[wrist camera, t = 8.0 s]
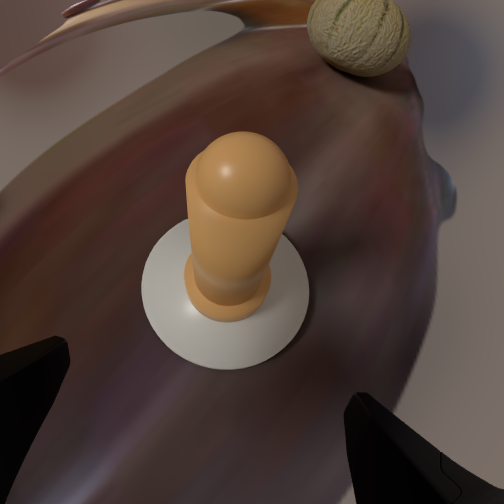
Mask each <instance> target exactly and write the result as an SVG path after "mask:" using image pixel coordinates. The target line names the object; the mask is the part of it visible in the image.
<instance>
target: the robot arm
mask: <svg viewBox="0 0 504 504" xmlns="http://www.w3.org/2000/svg"><path fill="white" fill-rule="evenodd" d="M69 366H70V355H69V348H68V343H67V340H66V339H64V338H61V337H58V336H53V337H50V338H47V339H44V340H41V341H39V342H36V343H33V344H30V345H27V346H24V347H22V348H19V349H16V350H13V351H10V352H7V353H4V354H2V355H0V504H5V502H6V500H7V498H6V497H8V494H9V492H10V490H11V487H12V485H13V483H14V480H15V478H16V476H17V474H18V472H19V469H20V467H21V465H22V463H23V461H24V459H25V457H26V455H27V453H28V451H29V448H30V446H31V444H32V442H33V441H34V439H35V437H36V435H37V433H38V431H39V429H40V427H41V425H42V423H43V421H44V420H45V418H46V416H47V414H48V412H49V410H50V409H51V407H52V405H53V403H54V401H55V398H56V396H57V394H58V391H59V389H60V387H61V384H62V382H63V380H64V377H65V375H66V373H67V371H68V368H69ZM344 425H345V437H346V449H347V457H348V463H349V468H350V473H351V478H352V483H353V488H354V494H355V498H356V504H504V489H500V488H497V487H495V486H493V485H491V484H489V483H488V482H486V481H484V480H483V479H481V478H479V477H477V476H476V475H474V474H473V473H471V472H469V471H468V470H466V469H465V468H463V467H461V466H460V465H458V464H457V463H456V462H454V461H453V460H451V459H450V458H449V457H447V456H446V455H444V454H443V453H442V452H440V451H439V450H438V449H437V448H436V447H434V446H433V445H432V444H431V443H429V442H428V441H427V440H425V439H424V438H423V437H421V436H420V435H419V434H418V433H416V432H415V431H414V430H413V429H411V428H410V427H409V426H408V425H406V424H405V423H404V422H403V421H401V420H400V419H399V418H398V417H396V416H395V415H394V414H393V413H391V412H390V411H389V410H388V409H386V408H385V407H384V406H383V405H382V404H380V403H379V402H378V401H377V400H375V399H374V398H373V397H372V396H371V395H369V394H368V393H365V392H356V393H354V394H353V396H352V397H351V399H350V401H349V403H348V405H347V407H346V409H345V411H344Z"/></svg>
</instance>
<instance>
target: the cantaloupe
mask: <svg viewBox="0 0 504 504" xmlns="http://www.w3.org/2000/svg"><path fill="white" fill-rule="evenodd" d="M307 23H308V25H307V28H308V35H309V37H310V41H311V43H312V45H313V47H314V48H315V50H316V51H317V52H318V54H319V55H320V57H321V58H322V59H324V60H325V61H326V62H328V63H329V64H331V65H332V66H334V67H335V68H337V69H338V70H341V71H344V72H347V73H350V74H352V75H356V76H363V77H374V76H378V75H382V74H384V73H386V72H389V71H391V70H392V69H394V68H395V67H396V66H397V65H399V64H400V63H401V62H402V60H403V59H404V57H405V56H406V54H407V52H408V49H409V47H410V40H411V35H410V28H409V24H408V21H407V19H406V16H405V14H404V13H403V11H402V10H401V8H400V7H399V6H398V5H397V4H396V3H395V2H394V1H393V0H316V1H315V2H314V4H313V5H312V6H311V9H310V12H309V15H308V21H307Z"/></svg>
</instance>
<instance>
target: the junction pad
mask: <svg viewBox="0 0 504 504" xmlns="http://www.w3.org/2000/svg"><path fill="white" fill-rule="evenodd" d="M191 252H192V251H191V241H190V231H189V219H186V220H184V221H182V222H181V223H179V224H177V225H176V226H174V227H173V228H172V229H170V230H169V231H168V232H167V233H166V234H165V235H164V236H163V237H162V238H161V239H160V240H159V241H158V242H157V244H156V245H155V246H154V248H153V250H152V251H151V253H150V255H149V257H148V259H147V262H146V264H145V268H144V272H143V277H142V299H143V305H144V308H145V312H146V315H147V317H148V319H149V322H150V324H151V326H152V327H153V329H154V330H155V332H156V333H157V335H158V336H159V337H160V339H161V340H162V341H163V342H164V343H165V344H166V345H167V346H168V347H169V348H170V349H171V350H172V351H173V352H175V353H176V354H177V355H179V356H180V357H182V358H184V359H185V360H187V361H189V362H192V363H194V364H196V365H199V366H202V367H206V368H210V369H217V370H236V369H243V368H247V367H251V366H254V365H257V364H259V363H262V362H264V361H266V360H267V359H269V358H271V357H272V356H274V355H276V354H277V353H278V352H279V351H281V350H282V349H283V348H284V347H285V346H286V345H287V344H288V343H289V342H290V341H291V340H292V339H293V338H294V336H295V335H296V333H297V332H298V330H299V329H300V327H301V325H302V323H303V321H304V318H305V315H306V312H307V307H308V302H309V283H308V277H307V273H306V269H305V267H304V264H303V261H302V259H301V257H300V256H299V254H298V252H297V250H296V249H295V248H294V246H293V245H292V244H291V242H290V241H289V240H288V239H287V238H286V237H285V236H284V235H283V234H282V235H281V237H280V240H279V242H278V244H277V247H276V249H275V251H274V254H273V256H272V258H271V261H270V263H269V266H270V270H271V284H270V288H269V291H268V293H267V295H266V297H265V299H264V301H263V303H262V304H261V306H260V307H259V308H258V310H257V311H256V312H255V313H253V314H252V315H251V316H249V317H247V318H245V319H243V320H240V321H237V322H228V323H225V322H218V321H214V320H211V319H209V318H207V317H205V316H204V315H202V314H201V313H200V312H199V311H197V310H196V309H195V307H194V306H193V305H192V303H191V301H190V300H189V297H188V295H187V291H186V286H185V280H184V269H185V265H186V262H187V259H188V257H189V255H190V254H191Z"/></svg>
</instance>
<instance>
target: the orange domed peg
mask: <svg viewBox="0 0 504 504" xmlns="http://www.w3.org/2000/svg"><path fill="white" fill-rule="evenodd" d="M186 194H187V207H188V219H189V231H190V241H191V251H192V252H191V254H190V255H189V257H188V259H187V262H186V265H185V269H184V280H185V286H186V291H187V295H188V297H189V300H190V301H191V303H192V305H193V306H194V307H195V309H196V310H197V311H199V312H200V313H201V314H202V315H204V316H205V317H207V318H209V319H211V320H214V321H218V322H225V323H228V322H237V321H240V320H243V319H245V318H247V317H249V316H251V315H252V314H253V313H255V312H256V311H257V310H258V308H259V307H260V306H261V304H262V303H263V301H264V299H265V297H266V295H267V293H268V291H269V288H270V284H271V270H270V266H269V263H270V261H271V258H272V256H273V254H274V251H275V249H276V247H277V244H278V242H279V240H280V237H281V235H282V232H283V230H284V228H285V225H286V223H287V221H288V218H289V216H290V213H291V211H292V209H293V206H294V204H295V201H296V198H297V195H298V182H297V178H296V175H295V173H294V171H293V169H292V168H291V166H290V165H289V163H288V161H287V159H286V157H285V155H284V153H283V152H282V151H281V149H280V148H279V147H278V146H277V145H276V144H275V143H274V142H272V141H271V140H270V139H268V138H266V137H264V136H262V135H259V134H256V133H252V132H233V133H229V134H226V135H224V136H222V137H220V138H218V139H216V140H215V141H213V142H212V143H211V144H210V145H209V146H208V147H207V148H206V149H205V150H204V151H203V152H201V153H200V154H199V155H198V156H196V158H195V159H194V160H193V161H192V163H191V164H190V166H189V168H188V170H187V174H186Z"/></svg>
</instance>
